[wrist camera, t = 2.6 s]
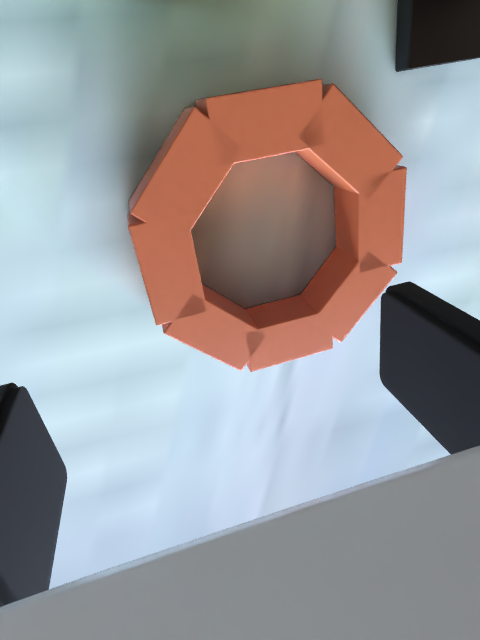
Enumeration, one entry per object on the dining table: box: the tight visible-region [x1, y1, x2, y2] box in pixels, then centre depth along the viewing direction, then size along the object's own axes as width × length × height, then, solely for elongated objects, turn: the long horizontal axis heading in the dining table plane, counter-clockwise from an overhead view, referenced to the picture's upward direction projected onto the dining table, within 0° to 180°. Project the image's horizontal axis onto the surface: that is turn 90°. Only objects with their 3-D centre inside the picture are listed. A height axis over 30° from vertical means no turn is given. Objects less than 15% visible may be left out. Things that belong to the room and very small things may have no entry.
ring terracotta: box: [127, 79, 407, 372], centre depth 19 cm, size 12×12×2 cm
